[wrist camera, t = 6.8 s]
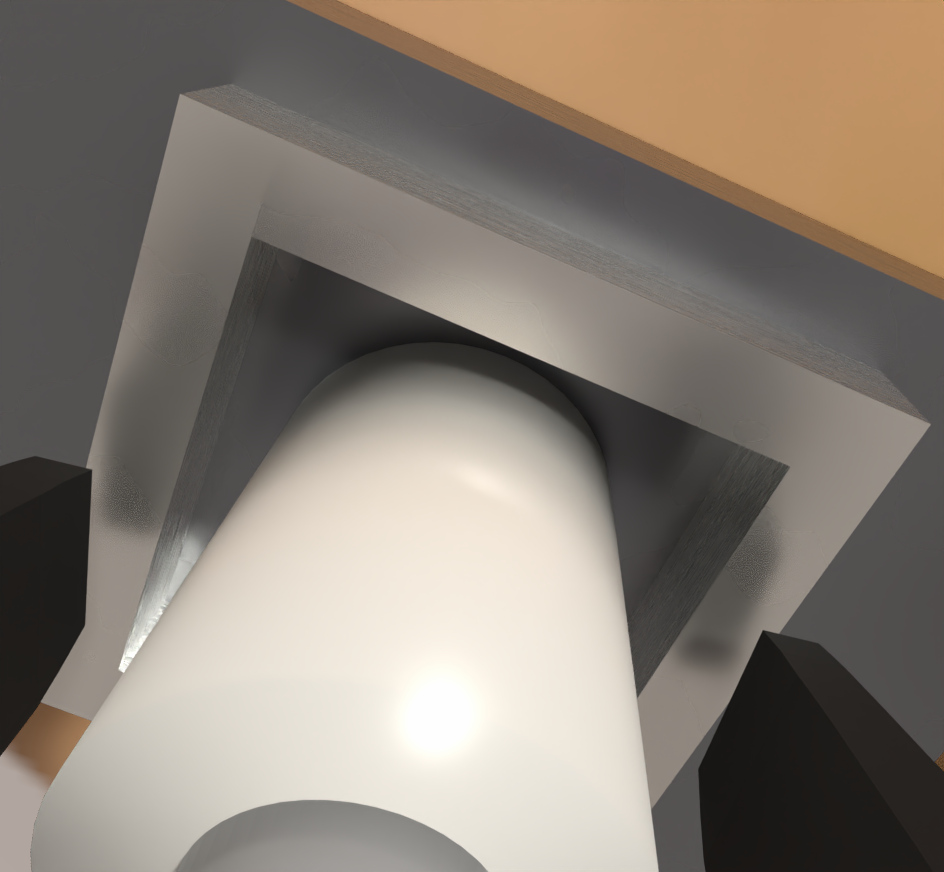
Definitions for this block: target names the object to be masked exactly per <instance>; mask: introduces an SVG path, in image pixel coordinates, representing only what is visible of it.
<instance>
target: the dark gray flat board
mask: <svg viewBox="0 0 944 872" xmlns="http://www.w3.org/2000/svg"><path fill="white" fill-rule="evenodd" d="M426 342H441V343H454V344H462V345H467V346H472V347H477V348H482V349H485V350H488V351H491V352H494V353H497V354H500V355H503V356H506V357H508V358H510V359H512V360H514V361H516V362H518V363H520V364H522V365H524V366H526V367H528V368H529V369H531V370H533V371H534V372H536V373H537V374H539V375H540V376H542V377H543V378H545V379H546V380H548V381H549V382H550V383H551V384H552V385H554V386H555V387H556V388H557V389H558V390H559V391H561V392H562V393H563V394H564V395H565V396H566V397H567V398H568V399H569V401H570V402H571V403H572V404H573V405H574V406H575V407H576V408H577V409H578V410H579V412H580V413H581V415H582V416H583V418H584V419H585V421H586V422H587V424H588V425H589V426H590V428H591V430H592V432H593V434H594V436H595V438H596V440H597V442H598V444H599V446H600V448H601V451H602V454H603V457H604V460H605V463H606V466H607V471H608V477H609V483H610V489H611V497H612V505H613V513H614V521H615V529H616V537H617V545H618V553H619V561H620V569H621V577H622V584H623V592H624V600H625V608H626V616H627V624H628V632H629V640H630V648H631V656H632V664H633V672H634V679H635V687H636V695H637V703H638V711H639V719H640V727H641V735H642V743H643V751H644V759H645V767H646V774H647V782H648V790H649V798H650V806H651V814H652V822H653V830H654V838H655V846H656V854H657V862H658V869H659V872H706V871H705V866H704V858H703V845H702V832H701V819H700V799H699V778H698V768H699V766H700V764H701V762H702V760H703V758H704V756H705V753H706V751H707V749H708V747H709V745H710V743H711V740H712V738H713V736H714V734H715V732H716V730H717V728H718V725H719V723H720V721H721V719H722V717H723V715H724V712H725V710H726V708H727V706H728V704H729V702H730V700H731V697H732V695H733V693H734V691H735V689H736V687H737V685H738V682H739V680H740V678H741V676H742V674H743V672H744V669H745V667H746V665H747V663H748V661H749V659H750V657H751V654H752V652H753V650H754V648H755V646H756V644H757V641H758V639H759V637H760V635H761V633H762V631H763V630H765V631H769V632H773V633H778V634H782V635H786V636H790V637H794V638H799V639H803V640H807V641H811V642H815V643H819V644H820V645H821V646H822V647H823V648H825V649H826V650H827V651H828V652H829V653H830V654H831V655H832V656H833V657H834V658H835V659H836V660H837V661H838V662H840V663H841V664H842V665H843V666H844V667H845V668H846V669H847V670H848V671H849V672H850V673H851V674H852V675H853V676H854V678H855V679H856V680H857V681H858V682H859V683H860V684H861V685H862V686H863V687H864V688H865V689H866V690H867V691H868V692H869V693H870V694H871V695H872V696H873V697H874V698H875V699H876V700H877V702H878V703H879V704H880V705H881V706H882V707H883V708H884V709H885V710H886V711H887V712H888V713H889V714H890V715H891V716H892V717H893V719H894V720H895V721H896V722H897V723H898V724H899V725H900V726H901V727H902V728H903V729H904V730H905V731H906V732H907V733H908V734H909V736H910V737H911V738H912V739H913V740H914V741H915V742H916V743H917V744H918V745H919V746H920V747H921V748H922V749H923V750H924V751H925V753H926V754H927V755H928V756H929V757H930V758H931V759H932V760H933V761H934V762H935V761H936V760H937V759H938V758H939V756H940V755H941V754H942V753H943V752H944V279H943V278H940V277H938V276H936V275H934V274H932V273H929V272H927V271H925V270H923V269H921V268H919V267H916V266H914V265H912V264H910V263H908V262H905V261H903V260H901V259H899V258H897V257H895V256H892V255H890V254H888V253H886V252H884V251H882V250H879V249H877V248H875V247H873V246H871V245H868V244H866V243H864V242H862V241H860V240H858V239H855V238H853V237H851V236H849V235H847V234H844V233H842V232H840V231H838V230H836V229H834V228H831V227H829V226H827V225H825V224H823V223H820V222H818V221H816V220H814V219H812V218H810V217H807V216H805V215H803V214H801V213H799V212H797V211H794V210H792V209H790V208H788V207H786V206H783V205H781V204H779V203H777V202H775V201H773V200H770V199H768V198H766V197H764V196H762V195H759V194H757V193H755V192H753V191H751V190H749V189H746V188H744V187H742V186H740V185H738V184H735V183H733V182H731V181H729V180H727V179H725V178H722V177H720V176H718V175H716V174H714V173H711V172H709V171H707V170H705V169H703V168H701V167H698V166H696V165H694V164H692V163H690V162H688V161H685V160H683V159H681V158H679V157H677V156H674V155H672V154H670V153H668V152H666V151H664V150H661V149H659V148H657V147H655V146H653V145H650V144H648V143H646V142H644V141H642V140H640V139H637V138H635V137H633V136H631V135H629V134H626V133H624V132H622V131H620V130H618V129H616V128H613V127H611V126H609V125H607V124H605V123H603V122H600V121H598V120H596V119H594V118H592V117H589V116H587V115H585V114H583V113H581V112H579V111H576V110H574V109H572V108H570V107H568V106H565V105H563V104H561V103H559V102H557V101H555V100H552V99H550V98H548V97H546V96H544V95H541V94H539V93H537V92H535V91H533V90H531V89H528V88H526V87H524V86H522V85H520V84H518V83H515V82H513V81H511V80H509V79H507V78H504V77H502V76H500V75H498V74H496V73H494V72H491V71H489V70H487V69H485V68H483V67H480V66H478V65H476V64H474V63H472V62H470V61H467V60H465V59H463V58H461V57H459V56H456V55H454V54H452V53H450V52H448V51H446V50H443V49H441V48H439V47H437V46H435V45H433V44H430V43H428V42H426V41H424V40H422V39H419V38H417V37H415V36H413V35H411V34H409V33H406V32H404V31H402V30H400V29H398V28H395V27H393V26H391V25H389V24H387V23H385V22H382V21H380V20H378V19H376V18H374V17H371V16H369V15H367V14H365V13H363V12H361V11H358V10H356V9H354V8H352V7H350V6H348V5H345V4H343V3H341V2H339V1H337V0H0V466H2V465H5V464H8V463H11V462H14V461H18V460H22V459H25V458H29V457H33V456H38V457H42V458H46V459H50V460H54V461H59V462H63V463H67V464H71V465H75V466H79V467H84V468H88V469H92V489H91V510H90V532H89V554H88V576H87V598H86V619H85V627H84V628H83V630H82V632H81V634H80V636H79V637H78V639H77V641H76V643H75V644H74V646H73V648H72V650H71V651H70V653H69V655H68V657H67V658H66V660H65V662H64V664H63V665H62V667H61V669H60V671H59V672H58V674H57V676H56V677H55V679H54V681H53V682H52V684H51V686H50V687H49V689H48V691H47V692H46V694H45V695H44V697H43V699H42V700H41V703H44V704H47V705H49V706H52V707H55V708H58V709H60V710H63V711H66V712H69V713H71V714H74V715H77V716H80V717H82V718H85V719H88V720H90V721H92V720H93V719H94V717H95V716H96V714H97V713H98V711H99V709H100V708H101V706H102V705H103V703H104V702H105V700H106V699H107V697H108V696H109V694H110V693H111V691H112V690H113V688H114V687H115V685H116V684H117V682H118V681H119V679H120V677H121V676H122V674H123V673H124V671H125V670H126V668H127V667H128V665H129V664H130V662H131V661H132V659H133V658H134V656H135V655H136V653H137V652H138V650H139V648H140V647H141V645H142V644H143V642H144V641H145V639H146V638H147V636H148V635H149V633H150V632H151V630H152V629H153V627H154V626H155V624H156V623H157V621H158V619H159V618H160V616H161V615H162V613H163V612H164V610H165V609H166V607H167V606H168V604H169V603H170V601H171V600H172V598H173V597H174V595H175V594H176V592H177V591H178V589H179V587H180V586H181V584H182V583H183V581H184V580H185V578H186V577H187V575H188V574H189V572H190V571H191V569H192V568H193V566H194V565H195V563H196V562H197V560H198V558H199V557H200V555H201V554H202V552H203V551H204V549H205V548H206V546H207V545H208V543H209V542H210V540H211V539H212V537H213V536H214V534H215V533H216V531H217V530H218V528H219V526H220V525H221V523H222V522H223V520H224V519H225V517H226V516H227V514H228V513H229V511H230V510H231V508H232V507H233V505H234V504H235V502H236V501H237V499H238V497H239V496H240V494H241V493H242V491H243V490H244V488H245V487H246V485H247V484H248V482H249V481H250V479H251V478H252V476H253V475H254V473H255V472H256V470H257V468H258V467H259V465H260V464H261V462H262V461H263V459H264V458H265V456H266V455H267V453H268V452H269V450H270V449H271V447H272V446H273V444H274V443H275V441H276V440H277V438H278V436H279V435H280V433H281V432H282V430H283V429H284V427H285V426H286V424H287V423H288V421H289V420H290V418H291V417H292V415H293V414H294V412H295V411H296V409H297V407H298V406H299V405H300V404H301V402H302V401H303V400H304V399H305V398H306V396H307V395H308V394H309V393H310V392H311V390H312V389H314V388H315V387H316V386H317V385H318V384H319V383H320V382H321V381H323V380H324V379H325V378H326V377H327V376H328V375H330V374H331V373H333V372H334V371H336V370H338V369H339V368H341V367H342V366H344V365H345V364H347V363H349V362H351V361H353V360H355V359H357V358H360V357H362V356H364V355H366V354H369V353H372V352H375V351H378V350H381V349H385V348H388V347H393V346H399V345H404V344H410V343H426Z"/></svg>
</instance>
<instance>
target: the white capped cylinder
mask: <svg viewBox="0 0 944 872" xmlns="http://www.w3.org/2000/svg"><path fill="white" fill-rule="evenodd" d="M31 870H32V872H659V869H658V862H657V854H656V846H655V838H654V830H653V822H652V814H651V806H650V798H649V790H648V782H647V774H646V767H645V759H644V751H643V743H642V735H641V727H640V719H639V711H638V703H637V695H636V687H635V679H634V672H633V664H632V656H631V648H630V640H629V632H628V624H627V616H626V608H625V600H624V592H623V584H622V577H621V569H620V561H619V553H618V545H617V537H616V529H615V521H614V513H613V505H612V497H611V489H610V483H609V477H608V471H607V466H606V463H605V460H604V457H603V454H602V451H601V448H600V446H599V444H598V442H597V440H596V438H595V436H594V434H593V432H592V430H591V428H590V426H589V425H588V424H587V422H586V421H585V419H584V418H583V416H582V415H581V413H580V412H579V410H578V409H577V408H576V407H575V406H574V405H573V404H572V403H571V402H570V401H569V399H568V398H567V397H566V396H565V395H564V394H563V393H562V392H561V391H559V390H558V389H557V388H556V387H555V386H554V385H552V384H551V383H550V382H549V381H548V380H546V379H545V378H543V377H542V376H540V375H539V374H537V373H536V372H534V371H533V370H531V369H529V368H528V367H526V366H524V365H522V364H520V363H518V362H516V361H514V360H512V359H510V358H508V357H506V356H503V355H500V354H497V353H494V352H491V351H488V350H485V349H482V348H477V347H472V346H467V345H462V344H454V343H441V342H426V343H410V344H404V345H399V346H393V347H388V348H385V349H381V350H378V351H375V352H372V353H369V354H366V355H364V356H362V357H360V358H357V359H355V360H353V361H351V362H349V363H347V364H345V365H344V366H342V367H341V368H339V369H338V370H336V371H334V372H333V373H331V374H330V375H328V376H327V377H326V378H325V379H324V380H323V381H321V382H320V383H319V384H318V385H317V386H316V387H315V388H314V389H312V390H311V392H310V393H309V394H308V395H307V396H306V398H305V399H304V400H303V401H302V402H301V404H300V405H299V406H298V407H297V409H296V411H295V412H294V414H293V415H292V417H291V418H290V420H289V421H288V423H287V424H286V426H285V427H284V429H283V430H282V432H281V433H280V435H279V436H278V438H277V440H276V441H275V443H274V444H273V446H272V447H271V449H270V450H269V452H268V453H267V455H266V456H265V458H264V459H263V461H262V462H261V464H260V465H259V467H258V468H257V470H256V472H255V473H254V475H253V476H252V478H251V479H250V481H249V482H248V484H247V485H246V487H245V488H244V490H243V491H242V493H241V494H240V496H239V497H238V499H237V501H236V502H235V504H234V505H233V507H232V508H231V510H230V511H229V513H228V514H227V516H226V517H225V519H224V520H223V522H222V523H221V525H220V526H219V528H218V530H217V531H216V533H215V534H214V536H213V537H212V539H211V540H210V542H209V543H208V545H207V546H206V548H205V549H204V551H203V552H202V554H201V555H200V557H199V558H198V560H197V562H196V563H195V565H194V566H193V568H192V569H191V571H190V572H189V574H188V575H187V577H186V578H185V580H184V581H183V583H182V584H181V586H180V587H179V589H178V591H177V592H176V594H175V595H174V597H173V598H172V600H171V601H170V603H169V604H168V606H167V607H166V609H165V610H164V612H163V613H162V615H161V616H160V618H159V619H158V621H157V623H156V624H155V626H154V627H153V629H152V630H151V632H150V633H149V635H148V636H147V638H146V639H145V641H144V642H143V644H142V645H141V647H140V648H139V650H138V652H137V653H136V655H135V656H134V658H133V659H132V661H131V662H130V664H129V665H128V667H127V668H126V670H125V671H124V673H123V674H122V676H121V677H120V679H119V681H118V682H117V684H116V685H115V687H114V688H113V690H112V691H111V693H110V694H109V696H108V697H107V699H106V700H105V702H104V703H103V705H102V706H101V708H100V709H99V711H98V713H97V714H96V716H95V717H94V719H93V720H92V722H91V723H90V725H89V726H88V728H87V729H86V731H85V732H84V734H83V735H82V737H81V738H80V740H79V742H78V743H77V745H76V746H75V748H74V749H73V751H72V752H71V754H70V755H69V757H68V758H67V760H66V761H65V763H64V764H63V766H62V767H61V769H60V771H59V772H58V774H57V776H56V777H55V779H54V781H53V782H52V784H51V786H50V787H49V789H48V791H47V792H46V794H45V795H44V798H43V801H42V804H41V807H40V809H39V812H38V815H37V818H36V821H35V824H34V831H33V837H32V844H31Z"/></svg>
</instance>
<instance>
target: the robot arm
mask: <svg viewBox="0 0 944 872" xmlns="http://www.w3.org/2000/svg"><path fill="white" fill-rule="evenodd" d="M91 489H92V469H88V468H84V467H79V466H75V465H71V464H67V463H63V462H59V461H54V460H50V459H46V458H42V457H38V456H33V457H29V458H25V459H22V460H18V461H14V462H11V463H8V464H5V465H2V466H0V756H1V755H2V753H3V752H4V751H5V749H6V748H7V747H8V745H9V744H10V743H11V742H12V740H13V739H14V738H15V736H16V735H17V734H18V732H19V731H20V730H21V728H22V727H23V726H24V724H25V723H26V722H27V720H28V719H29V718H30V716H31V715H32V714H33V712H34V711H35V710H36V708H37V707H38V705H39V704H40V702H41V700H42V699H43V697H44V695H45V694H46V692H47V691H48V689H49V687H50V686H51V684H52V682H53V681H54V679H55V677H56V676H57V674H58V672H59V671H60V669H61V667H62V665H63V664H64V662H65V660H66V658H67V657H68V655H69V653H70V651H71V650H72V648H73V646H74V644H75V643H76V641H77V639H78V637H79V636H80V634H81V632H82V630H83V628H84V627H85V619H86V598H87V576H88V554H89V532H90V510H91ZM698 778H699V799H700V819H701V832H702V845H703V858H704V866H705V871H706V872H944V771H943V770H942V769H941V768H940V767H939V766H938V765H937V764H936V763H935V762H934V761H933V760H932V759H931V758H930V757H929V756H928V755H927V754H926V753H925V751H924V750H923V749H922V748H921V747H920V746H919V745H918V744H917V743H916V742H915V741H914V740H913V739H912V738H911V737H910V736H909V734H908V733H907V732H906V731H905V730H904V729H903V728H902V727H901V726H900V725H899V724H898V723H897V722H896V721H895V720H894V719H893V717H892V716H891V715H890V714H889V713H888V712H887V711H886V710H885V709H884V708H883V707H882V706H881V705H880V704H879V703H878V702H877V700H876V699H875V698H874V697H873V696H872V695H871V694H870V693H869V692H868V691H867V690H866V689H865V688H864V687H863V686H862V685H861V684H860V683H859V682H858V681H857V680H856V679H855V678H854V676H853V675H852V674H851V673H850V672H849V671H848V670H847V669H846V668H845V667H844V666H843V665H842V664H841V663H840V662H838V661H837V660H836V659H835V658H834V657H833V656H832V655H831V654H830V653H829V652H828V651H827V650H826V649H825V648H823V647H822V646H821V645H820V644H819V643H815V642H811V641H807V640H803V639H799V638H794V637H790V636H786V635H782V634H778V633H773V632H769V631H765V630H763V631H762V633H761V635H760V637H759V639H758V641H757V644H756V646H755V648H754V650H753V652H752V654H751V657H750V659H749V661H748V663H747V665H746V667H745V669H744V672H743V674H742V676H741V678H740V680H739V682H738V685H737V687H736V689H735V691H734V693H733V695H732V697H731V700H730V702H729V704H728V706H727V708H726V710H725V712H724V715H723V717H722V719H721V721H720V723H719V725H718V728H717V730H716V732H715V734H714V736H713V738H712V740H711V743H710V745H709V747H708V749H707V751H706V753H705V756H704V758H703V760H702V762H701V764H700V766H699V768H698Z"/></svg>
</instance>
